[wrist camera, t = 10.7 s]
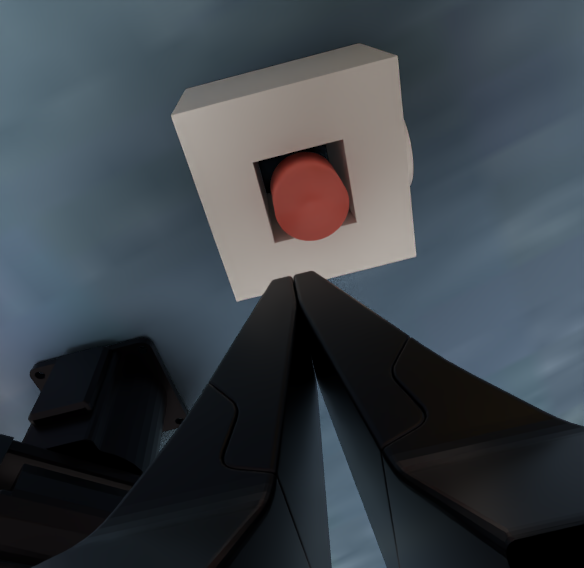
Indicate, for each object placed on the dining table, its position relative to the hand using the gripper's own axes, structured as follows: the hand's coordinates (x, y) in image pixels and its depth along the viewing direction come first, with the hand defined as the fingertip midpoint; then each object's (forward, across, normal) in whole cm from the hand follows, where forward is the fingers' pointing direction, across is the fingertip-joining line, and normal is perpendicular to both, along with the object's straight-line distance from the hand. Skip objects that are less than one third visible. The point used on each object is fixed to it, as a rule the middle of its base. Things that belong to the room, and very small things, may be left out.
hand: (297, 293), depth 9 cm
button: (+8, -1, +1) cm, 8 cm away
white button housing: (+12, -1, +1) cm, 12 cm away
